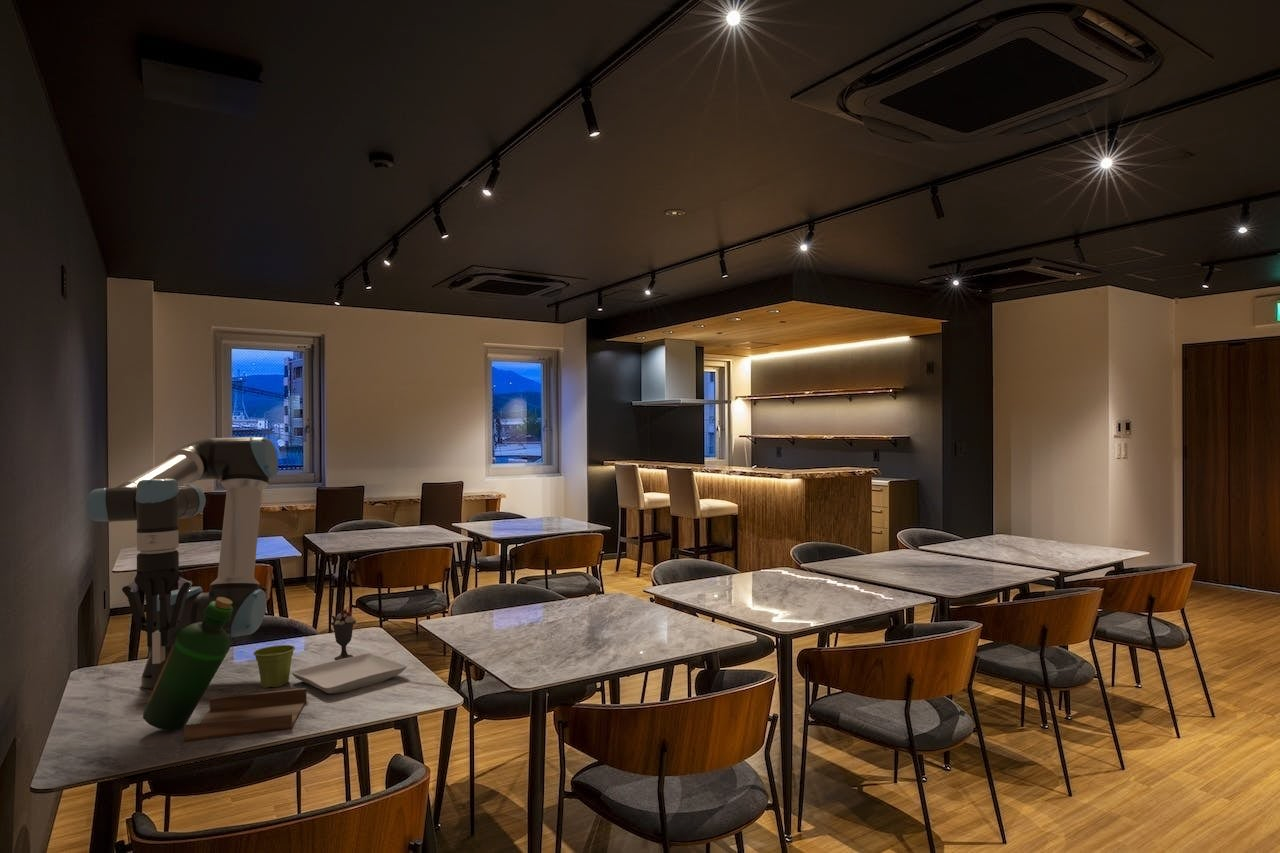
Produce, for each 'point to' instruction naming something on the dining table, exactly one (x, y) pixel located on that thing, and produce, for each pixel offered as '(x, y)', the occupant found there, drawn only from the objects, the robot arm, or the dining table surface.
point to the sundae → (343, 631)
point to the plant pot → (274, 664)
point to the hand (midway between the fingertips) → (158, 661)
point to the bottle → (189, 668)
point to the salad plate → (349, 673)
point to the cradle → (248, 714)
